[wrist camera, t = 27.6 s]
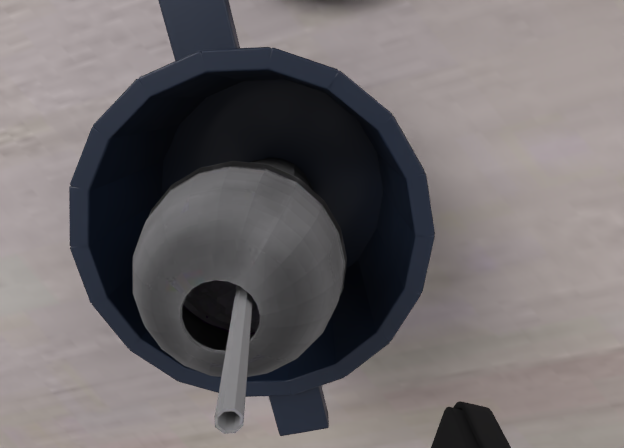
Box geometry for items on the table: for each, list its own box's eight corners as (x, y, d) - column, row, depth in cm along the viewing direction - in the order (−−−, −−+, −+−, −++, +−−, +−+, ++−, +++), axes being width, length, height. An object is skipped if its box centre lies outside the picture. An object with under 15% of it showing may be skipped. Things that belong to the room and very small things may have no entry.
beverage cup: (192, 160, 26) (-143, 332, 7) (308, 113, 26) (281, 167, 6) (242, 269, 28) (81, 639, 9) (352, 229, 28) (433, 540, 8)
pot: (361, -14, 24) (388, -81, 15) (417, 317, 30) (462, 416, 20) (103, 47, 25) (-17, 20, 16) (201, 357, 31) (152, 469, 21)
